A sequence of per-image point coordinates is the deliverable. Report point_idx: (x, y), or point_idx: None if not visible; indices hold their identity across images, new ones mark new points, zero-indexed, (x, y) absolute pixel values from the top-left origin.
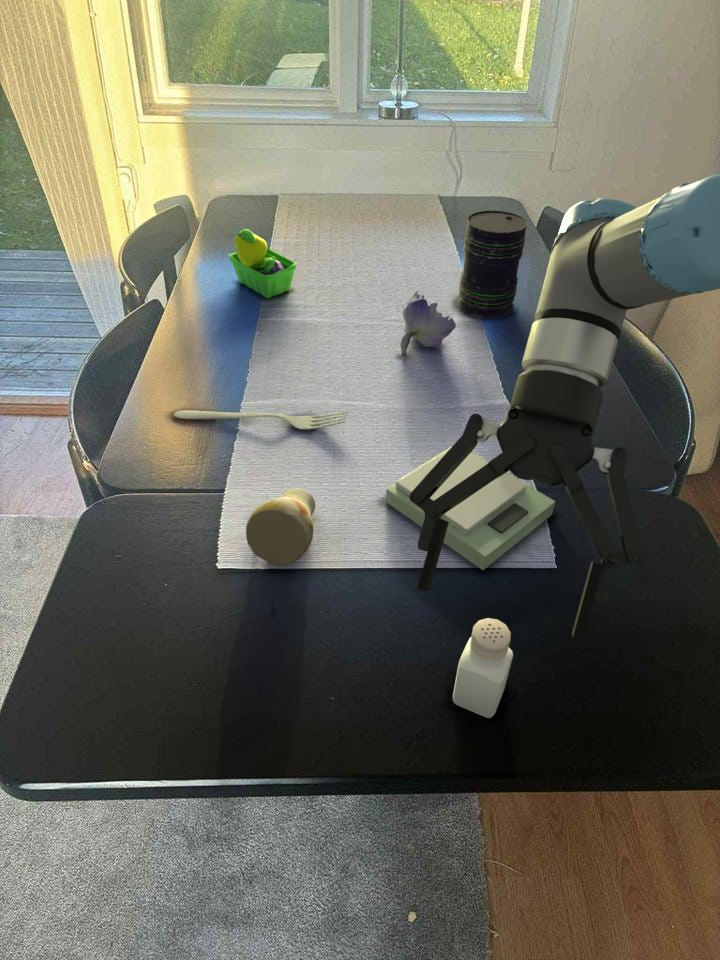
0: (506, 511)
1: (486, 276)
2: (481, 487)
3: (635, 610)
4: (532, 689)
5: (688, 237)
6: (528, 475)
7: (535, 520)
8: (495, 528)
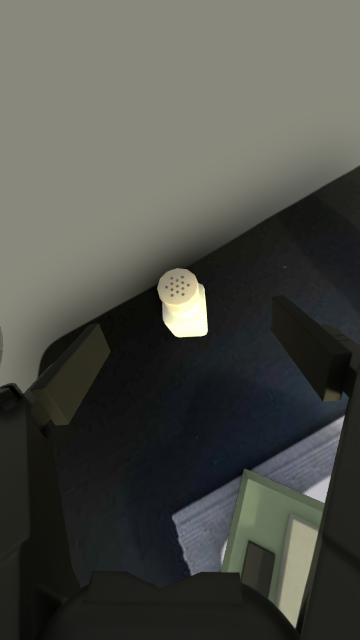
0: None
1: None
2: (326, 497)
3: (89, 484)
4: (155, 348)
5: None
6: (187, 592)
7: None
8: (260, 547)
